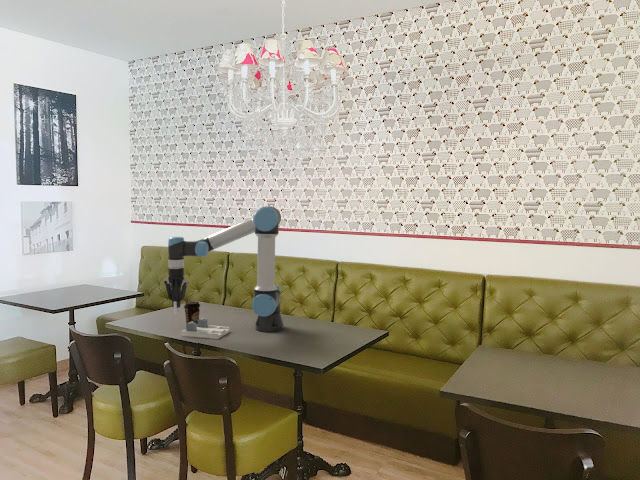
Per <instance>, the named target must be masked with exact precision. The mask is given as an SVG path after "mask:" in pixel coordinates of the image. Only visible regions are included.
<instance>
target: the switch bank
mask: <svg viewBox="0 0 640 480" xmlns="http://www.w3.org/2000/svg"><path fill="white" fill-rule="evenodd" d="M196 328H197V331H196V332H195V331H186V328H184V329H183V330H181V333H180V334H181V335H180V336H182V337H191V338H202V339H211V340H218V339H220V338H222V337H224V336H225V335H227V334H229V333H231V326H221V325H211V324H207V328H203V327H198V324H196Z"/></svg>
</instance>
